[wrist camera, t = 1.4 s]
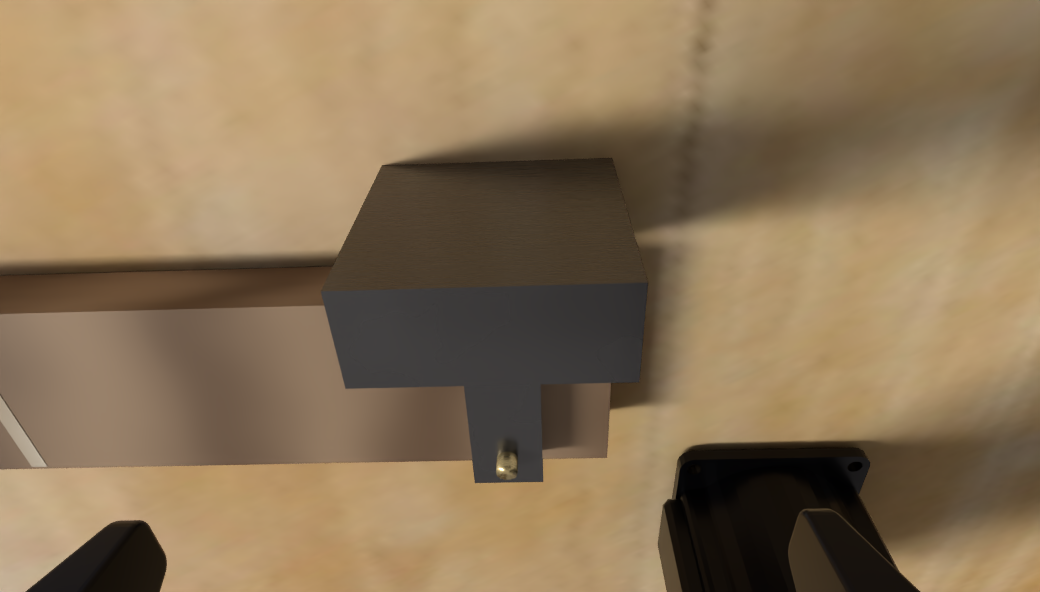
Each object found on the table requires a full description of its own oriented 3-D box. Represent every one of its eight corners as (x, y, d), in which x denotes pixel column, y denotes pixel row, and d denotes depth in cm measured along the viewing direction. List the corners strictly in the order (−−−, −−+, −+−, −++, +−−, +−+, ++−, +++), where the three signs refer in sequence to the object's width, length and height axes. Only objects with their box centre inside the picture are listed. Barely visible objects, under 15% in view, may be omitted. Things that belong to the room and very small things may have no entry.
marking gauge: (611, 157, 17) (648, 282, 12) (600, 401, 21) (623, 564, 16) (382, 164, 17) (320, 291, 12) (422, 405, 22) (391, 567, 17)
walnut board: (607, 258, 18) (615, 298, 16) (601, 412, 21) (606, 458, 20) (-141, 279, 19) (-207, 319, 17) (-35, 425, 22) (-81, 471, 20)
